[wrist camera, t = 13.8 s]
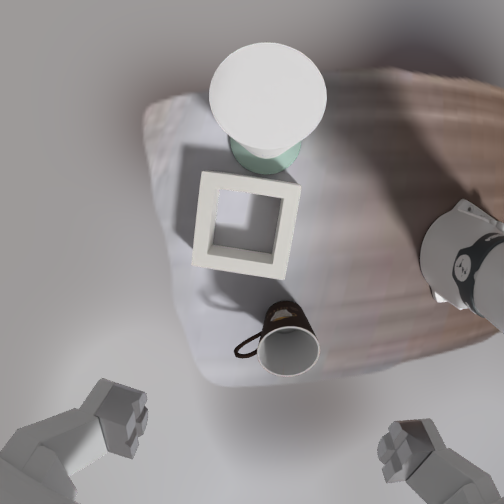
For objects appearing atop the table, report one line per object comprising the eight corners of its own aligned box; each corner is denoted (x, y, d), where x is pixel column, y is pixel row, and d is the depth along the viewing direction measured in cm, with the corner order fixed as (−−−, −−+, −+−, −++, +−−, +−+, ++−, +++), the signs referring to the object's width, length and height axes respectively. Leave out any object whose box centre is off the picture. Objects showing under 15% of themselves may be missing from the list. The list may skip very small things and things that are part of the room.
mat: (305, 113, 40) (305, 112, 39) (294, 179, 43) (295, 179, 42) (236, 102, 40) (235, 102, 39) (226, 169, 43) (225, 169, 42)
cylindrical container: (243, 108, 39) (214, 41, 15) (293, 112, 39) (328, 49, 15) (239, 156, 41) (204, 146, 17) (290, 160, 41) (323, 155, 17)
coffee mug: (316, 298, 48) (327, 330, 38) (303, 342, 50) (310, 379, 41) (245, 287, 48) (240, 317, 38) (236, 332, 50) (230, 368, 40)
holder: (297, 183, 43) (301, 186, 38) (282, 268, 46) (284, 280, 42) (208, 170, 43) (201, 171, 38) (198, 255, 46) (191, 265, 42)
